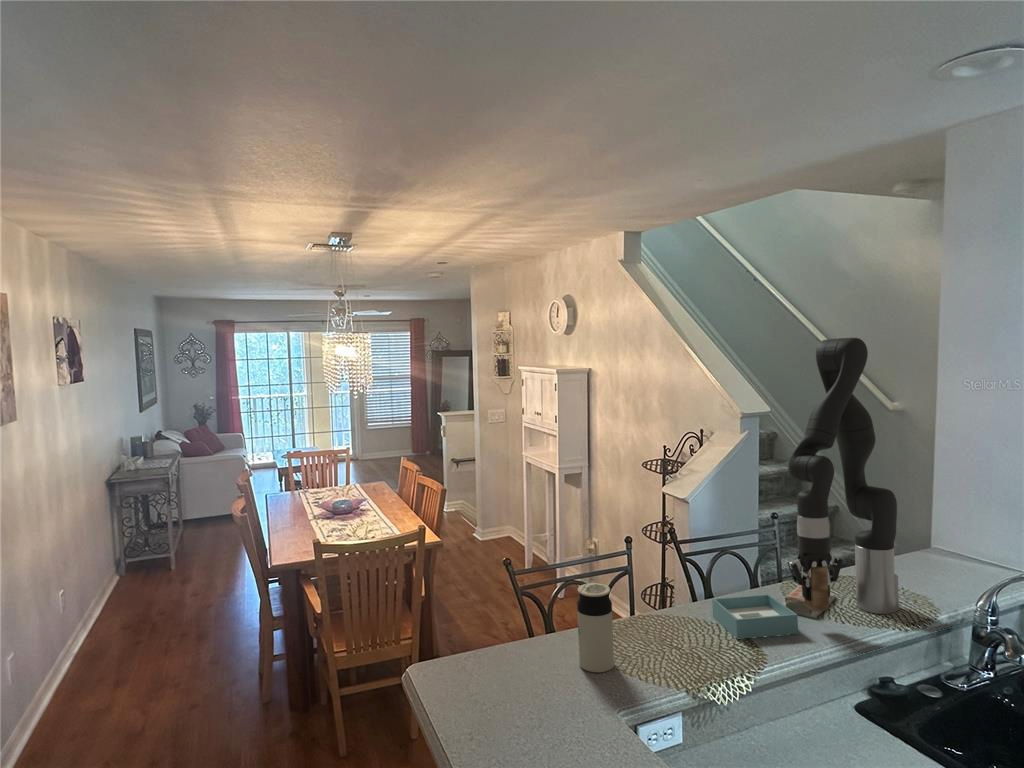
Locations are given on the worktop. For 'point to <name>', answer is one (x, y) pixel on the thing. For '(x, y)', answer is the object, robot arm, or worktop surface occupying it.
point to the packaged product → (801, 603)
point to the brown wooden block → (818, 590)
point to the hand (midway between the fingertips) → (816, 598)
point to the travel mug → (595, 628)
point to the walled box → (754, 616)
